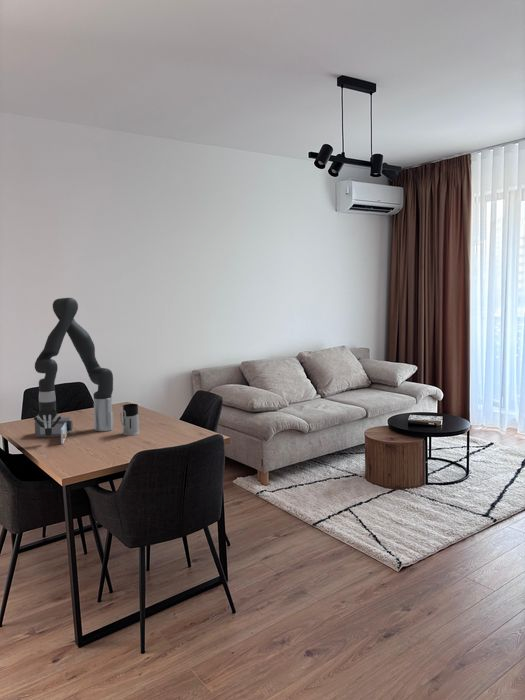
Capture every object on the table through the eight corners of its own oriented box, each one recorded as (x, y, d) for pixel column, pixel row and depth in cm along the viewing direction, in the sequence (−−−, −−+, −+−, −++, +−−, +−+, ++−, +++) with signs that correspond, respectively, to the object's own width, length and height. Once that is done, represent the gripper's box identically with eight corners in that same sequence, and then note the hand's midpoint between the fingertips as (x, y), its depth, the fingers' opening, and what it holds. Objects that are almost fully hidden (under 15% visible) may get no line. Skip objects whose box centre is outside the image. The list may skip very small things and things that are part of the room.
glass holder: (142, 432, 288) (142, 403, 286) (129, 438, 274) (128, 409, 273) (127, 431, 290) (127, 403, 288) (113, 437, 276) (112, 408, 275)
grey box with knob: (73, 431, 289) (73, 415, 288) (68, 436, 279) (68, 419, 278) (41, 432, 287) (40, 416, 287) (35, 437, 277) (34, 420, 277)
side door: (65, 435, 279) (64, 422, 278) (69, 435, 279) (68, 422, 278) (61, 443, 263) (60, 429, 263) (65, 443, 264) (64, 429, 263)
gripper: (30, 402, 257) (32, 438, 259) (60, 401, 260) (61, 436, 262) (34, 399, 265) (35, 434, 266) (63, 398, 267) (64, 433, 269)
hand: (48, 435), depth 264 cm, fingers closed
